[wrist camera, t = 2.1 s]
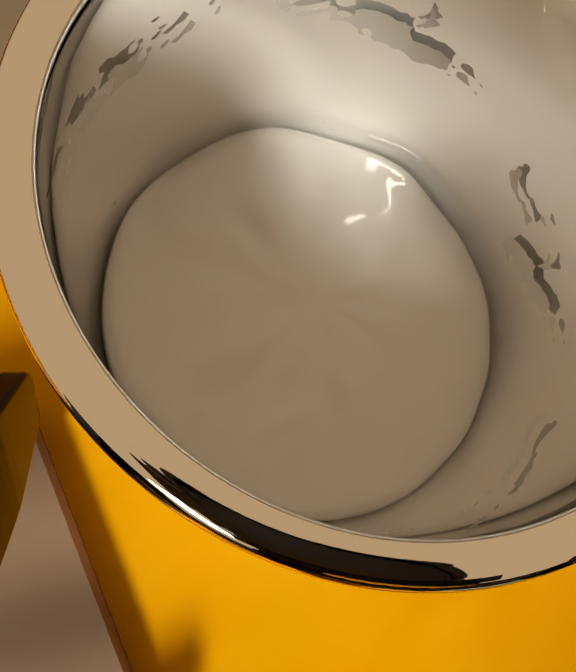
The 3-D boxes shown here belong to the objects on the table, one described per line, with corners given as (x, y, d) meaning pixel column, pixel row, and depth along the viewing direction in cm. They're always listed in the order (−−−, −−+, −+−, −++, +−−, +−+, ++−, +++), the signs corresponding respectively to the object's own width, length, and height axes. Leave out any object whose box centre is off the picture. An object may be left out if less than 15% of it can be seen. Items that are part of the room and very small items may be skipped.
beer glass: (282, 270, 20) (508, -228, 5) (373, 428, 19) (925, 333, 5) (114, 351, 18) (-218, -73, 4) (206, 530, 17) (251, 904, 3)
